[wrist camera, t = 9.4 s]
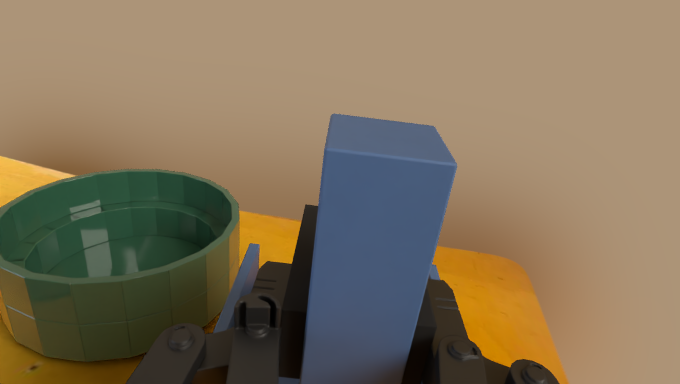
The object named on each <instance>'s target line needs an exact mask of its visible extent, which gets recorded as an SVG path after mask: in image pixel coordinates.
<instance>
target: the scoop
mask: <svg viewBox="0 0 680 384" xmlns="http://www.w3.org/2000/svg"><path fill="white" fill-rule="evenodd" d="M456 169H457V163H456V162H455V160H454V158H453V157H452V155H451V153H450V152H449V150H448V148H447V147H446V145H445V144H444V142H443V140H442V138H441V137H440V135H439V133H438V132H437V130H436V128H435V127H434V126H429V125H421V124H413V123H405V122H397V121H389V120H381V119H373V118H365V117H357V116H349V115H341V114H332V115H331V118H330V123H329V128H328V134H327V139H326V144H325V149H324V158H323V168H322V177H321V186H320V195H319V204H318V214H317V223H316V232H315V241H314V251H313V260H312V269H311V279H310V288H309V297H308V306H307V316H306V325H305V334H304V344H303V353H302V362H301V371H300V379H294V378H284V377H279V384H401V382H402V378H403V374H404V370H405V367H406V363H407V359H408V355H409V351H410V347H411V343H412V339H413V336H414V332H415V328H416V324H417V320H418V316H419V312H420V308H421V305H422V301H423V297H424V293H425V289H426V285H427V281H428V279H435V280H440V278H439V274H438V271H437V268H436V265H432V262H433V258H434V254H435V250H436V246H437V243H438V239H439V235H440V231H441V226H442V223H443V219H444V215H445V212H446V208H447V204H448V200H449V196H450V192H451V188H452V184H453V180H454V177H455V173H456ZM258 270H259V244H252V243H250V245H249V247H248V250H247V252H246V255H245V257H244V259H243V262H242V264H241V267H240V269H239V271H238V274H237V276H236V279H235V281H234V283H233V286H232V288H231V291H230V293H229V295H228V298H227V300H226V303H225V305H224V307H223V310H222V312H221V315H220V317H219V319H218V322H217V324H216V327H215V329H214V331H213V333H216V332H221V331H225V330H227V329H230V328H232V327H233V326H234V306H235V304H236V302H237V300H239V299H240V298H241V297H242V296H244V295H247V294H249V293H251V291H252V288H253V285H254V282H255V280H256V276H257V273H258ZM421 384H423V383H422V381H421Z"/></svg>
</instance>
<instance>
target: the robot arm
mask: <svg viewBox="0 0 680 384" xmlns="http://www.w3.org/2000/svg"><path fill="white" fill-rule="evenodd" d="M317 214H318V206H313V205H305V209H304V214H303V219H302V223H301V227H300V231H299V236H298V240H297V244H296V249H295V253H294V257H293V262H292V264H288V263H279V262H270V261H267V262H266V263H265V264H264V265H263V266H262V267H261V268H259V271H258V273H257V276H256V280H255V282H254V285H253V288H252V291H251V293H249V294H247V295H244V296H242V297H241V298H240V299H239V300H237V302H236V304H235V306H234V326H233V327H232V328H230V329H227V330H225V331H221V332H216V333H208V334H205V331H204V330H203V329H202V328H201V327H200V326H198V325H195V324H192V323H181V324H177V325H173V326H171V327H169V328H167V329H165V330H164V331H163V332H162V333H161V334H160V335H159V336H158V338H157V339H156V341H155V342H154V343H153V345H152V346H151V348H150V349H149V351H148V352H147V353H146V355H145V356H144V358H143V359H142V361H141V362H140V363H139V365H138V366H137V368H136V369H135V371H134V372H133V373H132V375H131V376H130V378H129V379H128V381H127V382H126V384H279V377H284V378H294V379H300V371H301V362H302V353H303V344H304V334H305V325H306V316H307V306H308V297H309V288H310V279H311V269H312V260H313V251H314V241H315V232H316V223H317ZM421 381H422V383H423V384H559V382H558V381H557V379H556V378H555V377H554V375H553V374H552V373H551V372H550V371H549V370H548V369H546V368H545V367H544V366H542V365H541V364H538V363H536V362H534V361H531V360H525V359H522V360H516V361H515V362H514V363H512V365H511V367H510V368H509V367H507V366H504V365H501V364H499V363H496V362H493V361H491V360H489V359H487V358H485V357H484V356H482V353H481V351H480V349H479V348H478V347H477V346H476V344H475V343H473V342H472V341H470V340H469V339H468V336H467V333H466V330H465V327H464V324H463V321H462V317H461V314H460V311H459V310H458V305H457V302H456V299H455V296H454V293H453V290H452V289H451V288H450V287H449V286H448V284H447V283H446V282H445V281H444V280H435V279H428V281H427V285H426V289H425V293H424V297H423V301H422V305H421V308H420V312H419V316H418V320H417V324H416V328H415V332H414V336H413V339H412V343H411V347H410V351H409V355H408V359H407V363H406V367H405V370H404V374H403V378H402V382H401V384H421Z"/></svg>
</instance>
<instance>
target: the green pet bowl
mask: <svg viewBox="0 0 680 384" xmlns="http://www.w3.org/2000/svg"><path fill="white" fill-rule="evenodd" d="M238 271H239V206H238V203H237V201H236V200H235V199H234V198H233V196H232V195H231V194H230V193H229V191H228V190H227V189H225V188H223V187H221V186H220V185H217V184H216V183H214V182H213V181H211V180H208V179H205V178H201V177H198V176H194V175H191V174H187V173H183V172H175V171H168V170H160V169H123V170H113V171H103V172H95V173H89V174H85V175H80V176H75V177H71V178H66V179H62V180H58V181H56V182H53V183H50V184H47V185H44V186H42V187H39V188H36V189H33V190H30V191H28V192H26V193H25V194H23V195H21V196H19V197H18V198H16V199H14V200H12V201H11V202H9V203H7V204H5V205H4V206H2V207H1V208H0V313H1V317H2V320H3V322H4V324H5V325H6V327H7V328H8V330H9V331H10V333H11V335H12V336H13V338H14V339H15V341H17V342H18V343H20V344H22V345H24V346H26V347H28V348H30V349H32V350H34V351H36V352H38V353H40V354H42V355H43V356H46V357H52V358H59V359H66V360H74V361H81V362H91V361H101V360H111V359H120V358H130V357H134V356H137V355H140V354H143V353H147V352H148V351H149V349H150V348H151V346H152V345H153V343H154V342H155V341H156V339H157V338H158V336H159V335H160V334H161V333H162V332H163V331H164V330H165V329H167V328H169V327H171V326H173V325H177V324H181V323H192V324H195V325H198V326H200V327H201V328H203V327H204V326H206V325H207V324H209V323H210V322H211V321H212V320H213V319H214V318H215V317H216V316H217V315H218V314H219V313H220V312H221V311H222V310H223V307H224V305H225V303H226V300H227V298H228V295H229V293H230V291H231V288H232V286H233V283H234V281H235V279H236V276H237V274H238Z"/></svg>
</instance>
